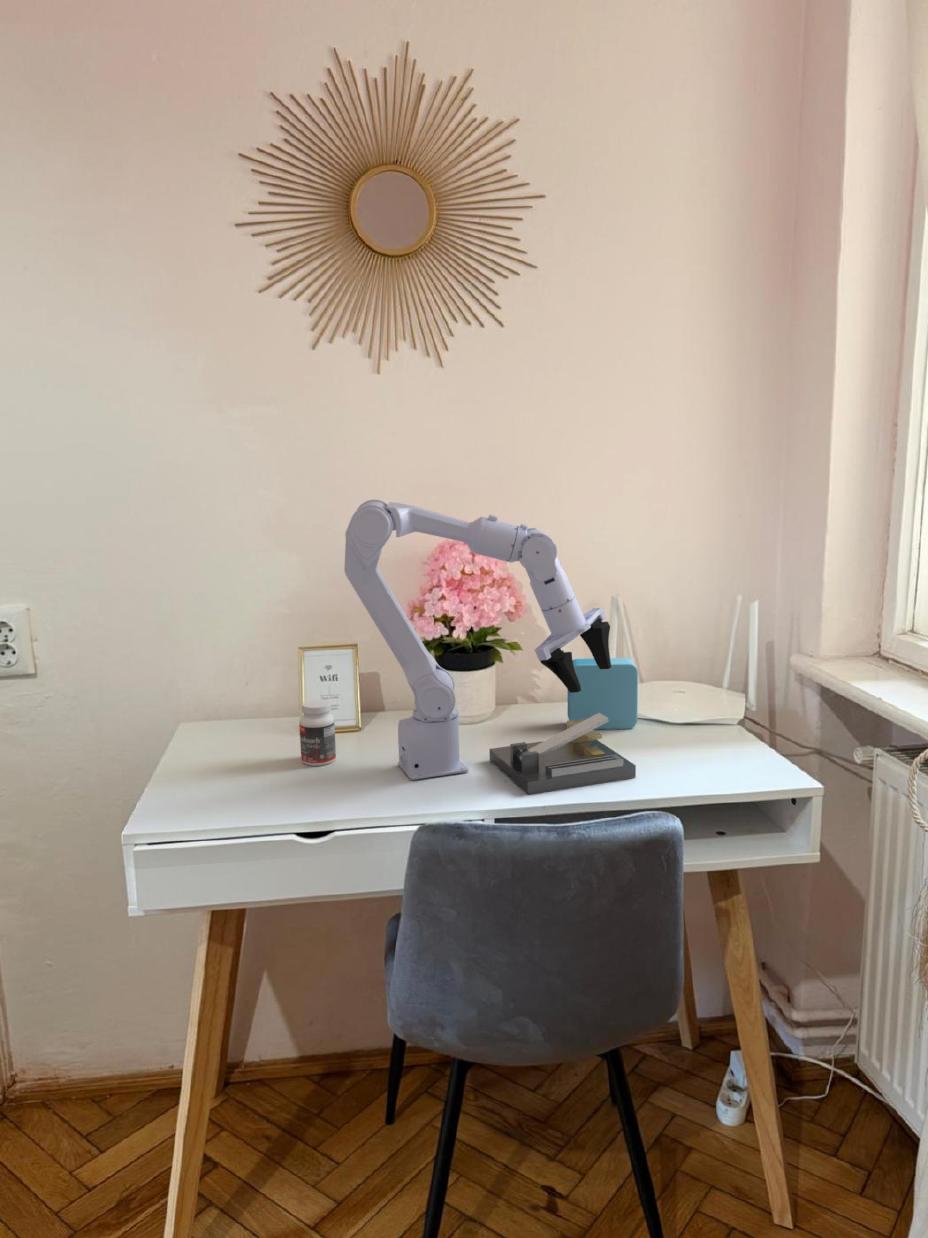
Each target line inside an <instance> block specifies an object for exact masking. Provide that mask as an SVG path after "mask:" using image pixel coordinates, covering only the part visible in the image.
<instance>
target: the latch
mask: <svg viewBox="0 0 928 1238" xmlns="http://www.w3.org/2000/svg"><path fill="white" fill-rule="evenodd" d="M584 720H585V719H578V720H570V721H569V720H566V730H567V729H569V728H571V727H573V726H574V725H576V724H578V723H580V722H582V721H584ZM590 740H603V734H602V733H600V732H599V731H598V730H594V729H593V730H591V731H589V732H588V733H586V734H584V735H582V736H580V737H578V738H576V739H574V740H572V741H570V742H572V743H573V744H575V743H582V742H588V741H590Z"/></svg>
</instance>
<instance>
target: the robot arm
mask: <svg viewBox="0 0 928 1238" xmlns="http://www.w3.org/2000/svg"><path fill="white" fill-rule="evenodd" d="M528 527H529V526H528V525H527V524H523V523H521V524H520V526H519V525H516V524H512V523H507V522H503V521H500V520H498V516H496V515H492V514H489V515H488V517H484V516H480V517H478V518H477V519H475V520H473V521H470V522H469V521H467V520H463V519H459V518H456V517H454V516H453V517H452V516H449V515H447V514H442V513H439V512H435V511H432V510H429V509H425V508H422V507H418V506H415V505H411V504H405V503H400V502H392V501H391V502H390V501H389V502H388V503H386V502H384V501H383V500H379V499H370V500H366V501H364V502H363V503H361V504H360V505H359V506H358V507H357V509H356V511H354V513H353V514H352V516H351V518H350V521H349V523H348V525H347V528H346V531H345V536H344V537H345V545H344V546H345V547H344V548H345V549H344V565H343V566H344V568H343V569H344V573H345V576H346V578H347V580H348V581H349V583H350V585H351V586H352V588H353V589H354V591H355V593H356V595H357V596H358V598H359V599H360V601H361V603H362V605H363V606H364V608H365V609H366V611H367V612H368V614H369V616H370V617H371V620H372V621H373V623H374V624H375V626H376V627H377V630H378V631H379V632H380V635H381V636H382V637H383V638H384V640H385V643H386V644H387V645H388V647H389V649H390V650H391V652H392V654H393V655H394V657H395V658H396V660H397V662H398V663H399V665H400V667H401V669H402V670H403V672H404V675H405V677H406V681H407V684H408V686H409V687H410V689H411V691H412V693H413V697H414V706H415V708H414V709H413V710H412V715H411V716H408V717H405V718H401V719H399V721H398V726H397V740H398V741H397V742H398V743H397V745H398V761H397V764H398V766H399V767H400V768H401V770H402V771H403V772H404V773H405V775H407V776H408V778H409V779H410V780H411V781H412V780H413V781H414V780H423V779H428V778H434V777H442V776H448V775H456V774H462V773H467V772H468V771H469V768H468V767H467V766H466V765H465V764H464V763H463V762H462V761H461V760H460V734H459V733H460V729H459V726H460V725H459V710H458V709H457V708H456V707H455V706H456V694H455V681H454V678H453V676H452V675H451V673H450V672H449V671H448V670H446V669H445V668H443V667H442V666H440V665H439V663H438V662H437V660H436V659H435V657H434V656H432V654H431V653H430V652H429V651H428V650H427V648H426V646H425V644H424V642H423V641H422V639H421V638H420V637H419V634H418V633H417V631H416V629H415V627H413V624H412V623H411V621H410V620H409V618H408V616H407V615H406V613H405V611H404V609H403V607H402V606H401V604H400V603H399V601H398V600H397V598H396V596H395V594H394V593H393V591H392V590H391V588H390V586H389V585H388V582H387V581H386V580H385V577H384V576H383V574H382V572H381V571H380V569H379V567H378V564H379V560H380V557H381V554H382V550H383V548H384V547H385V545H386V544H387V542H388V541H389V539H390V537H391V536H392V534H393V531H395V533H396V538H401V537H404V536H406V535H410V534H412V533H421V534H426V535H429V536H434V537H435V536H436V537H439V538H444V539H447V540H448V539H449V540H454V541H457V542H461V543H466V546H468V548H469V551H470V552H471V553H472V554H476V555H479V556H483V557H487V558H492V559H494V560H499V561H502V562H507V563H511V564H512V563H514V562H519V563H520V565H521V566H522V567H523V568H524V569H525V571H526V574H527V576H528V579H529V585H530V588H531V590H532V592H533V595H534V597H535V599H536V601H537V604H538V606H539V608H540V610H541V614H542V615H543V617H544V620H545V623H546V625H547V626H548V627H547V628H548V630H549V631H550V634H549V635H548V636H547V637H546V639H545V640H543V642H542V643H540V644H539V645H538V646H537V647H536V648H534V652H535V654H536V658H537V659H538V661H540V664H541V665H543V666H545V668H547V669H548V670H550V671H551V672H552V673H553V674H554V675H555V676H556V677H557V678H558V679H559V680H560V681H561V682H562V684H563V685H564V686H565V687H566V689H567V691H568V690H569V692H570V693H574V692H579V691H581V686H580V683H579V680H578V678H577V675H576V673H575V670H574V666H573V660H574V659H573V653H572V652H571V651H564V650H562V648H564V647H565V646H567V645H568V644H569V643H571V642H572V641H573V640H575V639H576V638H578V637H580V638H581V639H582V640H583V641H584V643H585V645H586V646H587V648H588V649H589V651H590V653H591V655H592V657H593V659H595V661H596V664H597V665H598V667H599V668H600V670H601V669H610V668H611V661H610V658H611V655H610V648H609V644H610V643H609V642H610V641H609V639H610V630H611V626H610V622H609V621H604V620H605V619H606V618H607V616H606V614H605V611H604V610H603V609H604V608H603V607H594V608H592V609H591V610H590V609H589V611H587V612H585V613H583V611H582V609H581V606H580V605H579V601H578V599H577V598H576V594H575V592H574V590H573V588H572V586H571V583H570V580H569V577H568V576H567V574H566V571H565V570H564V568H563V567H562V564H561V561H560V559H559V558H558V556H557V555H558V548H557V545H556V543H554V542H553V540H552V538H550V537H549V535H548V534H547V533H546V532H544V531H542V530H540V529H538V528H536V527H529V528H528Z"/></svg>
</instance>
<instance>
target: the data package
mask: <svg viewBox="0 0 928 1238" xmlns="http://www.w3.org/2000/svg"><path fill="white" fill-rule="evenodd" d="M572 660H573V666H574V670H575V673H576V675H577V678H578V680H579V683H580V686H581V691H579V692H574V693H570V692H569V690H568V689H567V719H568V721H570V720H578V719H585V720H586V719H588V718H590V717H592V716H594V715H596V714H597V713H601V714H602V715H604V716H606V717H607V718H608V719H609V721H608V722H607V723H605V724H603V725H601V726H599V727H597V728H595V729H594V730H596V731H598V730H603V731H604V730H630V729H633V728H634V727H635V726H636V725H637V723H638V706H639V705H638V703H639V702H638V701H639V700H638V699H639V697H638V695H639V694H638V693H639V670H638V668H637V666H636V665H635V663H634V662H633V660H631V659H630V658H628V657H610V661H611V668H610V669H601V670H600V668H599V667H598V665H597V664H596V661H595V659H594V658H575V659H572Z"/></svg>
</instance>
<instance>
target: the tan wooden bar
mask: <svg viewBox="0 0 928 1238" xmlns="http://www.w3.org/2000/svg"><path fill="white" fill-rule="evenodd" d="M608 721H609V719H608V718H607V717H606V716H604V715H602V714H601V713H597V714H596V715H594V716H592V717H590V718H588V719H586V720H584V721H582V722H580V723H578V724H576V725H574V726H573V727H571V728H569V729H567V728H566V729H565V730H562V731H561V732H559V733H557V734H556V735H554V736H552V737H550V738H547V739H546V740H544V742H542V741H541V742H542V743H540V744H538V745H536V746H534V747H532V748H530V749H528V750H526V751H525V752H523V751H520V752H518V753H517V759H519V760H520V761H521V762H522V753H527V752H534V751H537V752H538V753H539V758H540V757H542V756H544V755H546V754H548V753H549V752H551V751H553V750H555V749H557V748H559V747H561V746H563V745H565V744H567V743H568V742H570V741H572V740H574V739H576V738H578V737H580V736H582V735H584V734H586V733H588V732H589V731H591V730H593V729H595V728H597V727H599V726H601V725H603V724H605V723H607V722H608Z"/></svg>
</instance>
